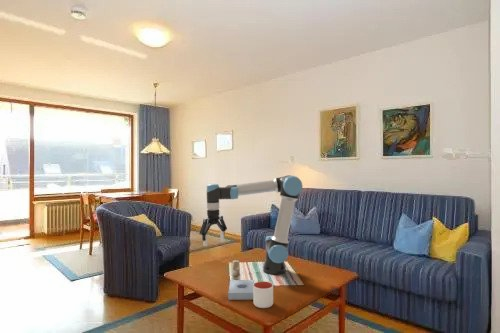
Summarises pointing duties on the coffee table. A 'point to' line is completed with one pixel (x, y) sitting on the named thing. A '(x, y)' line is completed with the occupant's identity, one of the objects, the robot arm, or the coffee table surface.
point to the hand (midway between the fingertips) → (213, 243)
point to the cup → (263, 294)
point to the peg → (236, 270)
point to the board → (241, 290)
